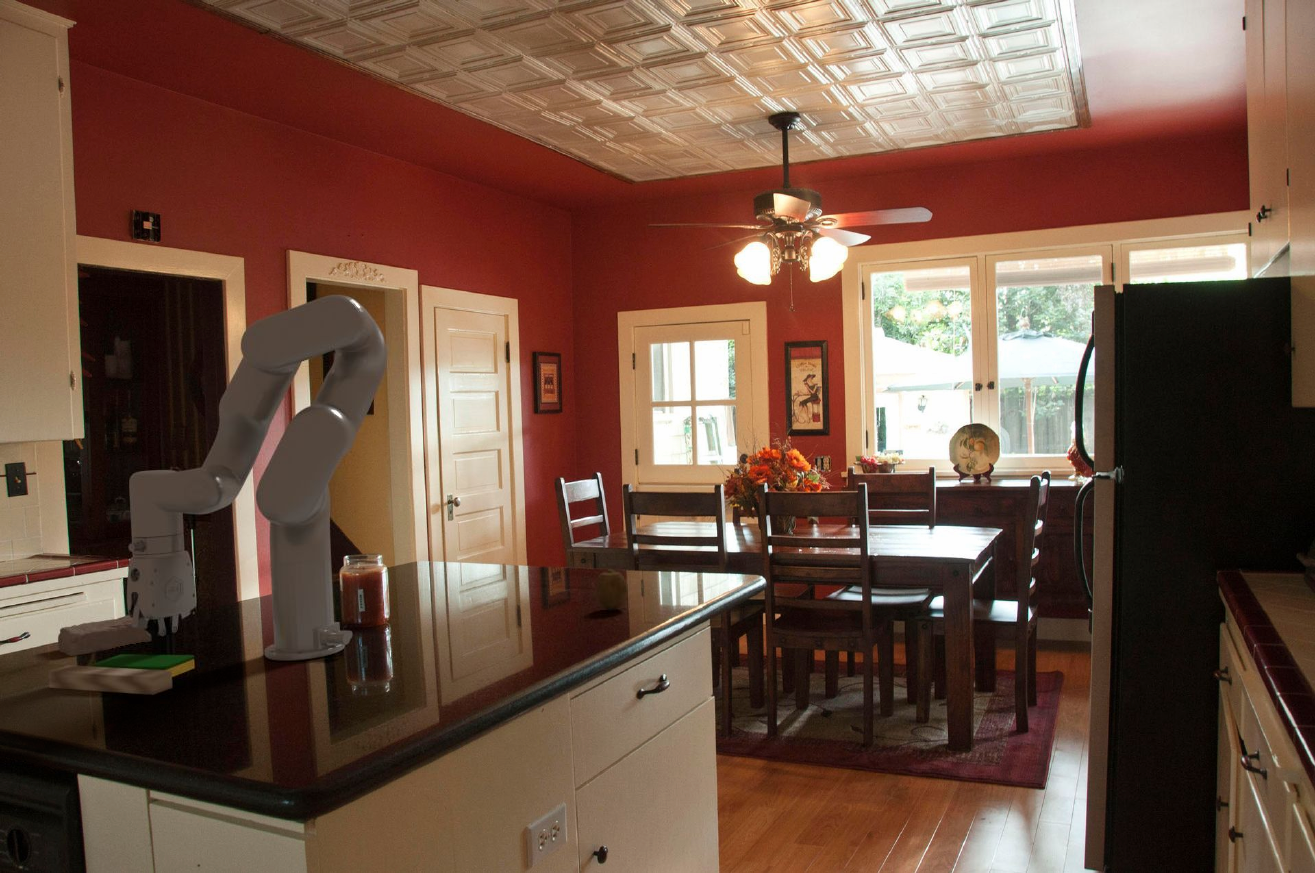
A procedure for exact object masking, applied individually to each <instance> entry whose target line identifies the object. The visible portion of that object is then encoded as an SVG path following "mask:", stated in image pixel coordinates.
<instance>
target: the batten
mask: <svg viewBox="0 0 1315 873" xmlns="http://www.w3.org/2000/svg"><path fill="white" fill-rule="evenodd" d="M48 687H49V688H50V689H51V688H52V689H63V690H76V691H93V692H107V693H121V694H122V693H123V694H124V693H125V694H137V695H139V694H140V695H151V696H153V695H156V694H159V693H161V692H164V691H168V690H169V689H170V690H171V689H173V677H172V671H162V670H144V669H127V668H109V667H91V666H89V665H87V666H86V665H72V664H71V665H70V664H69V665H66V666H63V667H59V668H58V667H57V668H55V669H51V670H48Z"/></svg>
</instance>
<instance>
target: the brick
mask: <svg viewBox="0 0 1315 873" xmlns="http://www.w3.org/2000/svg"><path fill="white" fill-rule="evenodd" d="M132 619H133V618H131V617H130V616H129V614H128V615H124V616H121V617H118V618H113V619H112V618H111V619H107V620H105V619H104V620H101V621H91V622H85V623H84V622H83V623H80V624H78V625H76V624H74V625H71V626H65V627H61V628H60V629H59V634H58V636H57V645H58V649H59V652H60V653H64V654H65V655H68V656H70V657H75V656H76V657H77V656H81V655H87V654H92V653H97V652H102V651H108V650H112V648H113V649H117V648H116V647H118V648H121V647H120V646H124V647H126V646H125V645H129V644H133V645H137V644H136V643H140V644H142V643H141V642H145V643H148V642H151V635H148V634H147V631H146V630H145V629H144V628H133V627H132ZM154 622H155V623H156V621H154ZM129 646H130V645H129Z"/></svg>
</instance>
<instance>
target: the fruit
mask: <svg viewBox="0 0 1315 873" xmlns="http://www.w3.org/2000/svg"><path fill="white" fill-rule="evenodd" d="M595 581H596V582H595V584H594V594H595V598H596V601H597V602H598V604H599V605H600V606H601V607H602V608H604V609H606V610H607V611H608V612H614V611H616V610H617V609H619V608H620V607H621V606H623V605H624V603H625V601H626V599H627V596H628V585H627V582H626V579H625V577H624V576H623V574H622V573H621V572H618V571H614V569H612V568H608V570H606V571H604V572H601V573H600V574H599V575H598V577H597V579H596V580H595Z"/></svg>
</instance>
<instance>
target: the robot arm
mask: <svg viewBox="0 0 1315 873" xmlns="http://www.w3.org/2000/svg"><path fill="white" fill-rule="evenodd" d="M240 339H241V340H240V350H241V354H242V358H241V360H240V362H239V363H238V366H237V368H236V370H235V372H234V374H233V376H232V377H231V380H230V382H228V385H227V387H226V389H225V391H224V393H223V395H222V397H221V398H220V401H219V405H218V415H219V416H218V417H219V426H218V429H217V430H218V431H217V434H216V436H215V440H214V441H213V445H212V446H211V449H210V450H209V452H208V454H207V456H206V458H205V460H204V462H203V464H202V466H200V467H196V468H191V469H186V470H180V471H175V470H171V469H156V470H153V469H152V470H143V471H142V470H141V471H137V472H134V473H133V474H132V475H131V476H130V477H129V484H128V485H129V488H128V489H129V503H130V506H129V507H130V508H129V510H130V522H131V523H130V524H131V526H130V527H131V543H129V544H128V551H129V552H131V553H132V557H130V559H129V565H128V571H127V572H128V573H127V583H126V584H127V585H126V587H127V588H126V604H127V612H128V615H129V616H130V617H131V618H133V619H132V627H133V628H144V629H145V630H146V631H147V634H148V635H151V641H150V642H151V655H176V645H175V643H176V642H175V633H177V631H178V628H179V627H178V626H179V624H180V622H181V620H183V619H185V618H186V617H188V616H190V614H191V611H192V610H193V609H194V608H195V607H196V606H197V591H196V582H195V575H194V569H193V568H194V567H193V564H192V561H191V556H190V553H189V551H188V550H185V538H184V537H185V536H184V515H183V514H188V515H189V514H191V515H205V514H206V515H207V514H210V513H214V512H216V511H219V510H221V509H223V508H226V507H228V506H229V505H231V504H232V503H233V502H234V501H236V499H237V497H238V495H239V494H240V492H241V491H242V489H243V487H244V485H245V482H246V481H247V479H248V477H249V475H250V474H251V472H252V470H253V468H254V465H255V464H256V461H257V459H258V457H259V454H260V452H261V450H262V446H263V444H264V442H265V440H266V437H267V435H268V432H269V430H270V426H271V423H272V421H273V419H274V418H275V416H276V413H277V411H278V409H279V408H280V406H281V404H282V402H283V399H284V398H285V395H286V394H287V392H288V390H289V388H290V386H291V385H292V383H293V381H294V378H295V377H296V375H297V372H298V371H299V369H300V366H301V365H302V362H305V361H309V360H310V359H313V358H317V357H319V356H322V355H325V354H328V353H330V352H334V351H335V352H334V354H335V357H334V361H333V363H332V365H331V367H330V369H329V371H328V372H327V374H326V375H325V377H324V380H323V382H322V385H321V387H320V389H319V391H318V392H317V394H316V396H315V398H314V400H313V402H312V403H311V405H309V406H306V407H304V408H303V409H300V411H299V412H297V413H296V414H295V415H294V416H293V418H292V419H291V420H290V421H289V423H288V424H287V427H285V428H286V429H285V430H284V432H283V435H282V436H281V438H280V440H279V442H278V444H277V446H276V447H275V450H274V452H273V453H272V456H271V458H270V459H269V462H268V463H267V465H266V468H265V469H264V471H263V473H262V475H261V478H260V479H259V482H258V484H257V487H256V491H255V501H256V502H255V503H256V505H257V507H258V508H257V509H258V510H259V513H260V514H261V515H262V516H263V517H264V519H266V520H267V521H268V522H269V560H270V581H271V582H270V584H271V585H270V586H271V600H272V602H271V604H272V619H273V624H272V625H273V639H274V640H273V641H274V643H273V644H271V645H269V646H267V647H266V648H265V649H264V656H265V658H266V659H269V660H272V661H273V660H274V661H284V662H285V661H286V662H287V661H289V662H291V661H301V660H310V659H317V658H321V657H322V658H323V657H326V656H330V655H333V654H337V653H339V652H340V651H342V650H343V649H345V647H346V645H348V644H349V643H350V641H351V639H352V637H353V631H352V630H341V629H340V627H341V626H340V623H341V622H339V621H338V622H337V621H335V614H334V597H333V577H332V576H333V575H332V572H333V571H332V554H331V550H332V549H331V529H330V528H331V523H330V522H331V494H330V487H329V484H330V481H331V479H332V477H333V475H334V473H335V471H336V469H337V467H338V466H339V463H340V462H341V460H342V458H343V457H345V456H346V455H347V454H348V452H350V451H351V449H352V447H353V445H354V442H355V441H356V438H357V435H358V433H359V431H360V428H361V427H362V424H363V422H364V420H365V419H366V418H365V417H366V416H367V415H368V412H369V410H370V407H371V405H372V403H373V401H374V399H375V396H376V394H377V392H378V390H379V387H380V386H381V383H382V381H383V378H384V376H385V373H386V371H387V370H386V368H387V364H388V349H387V344H386V340H385V337H384V335H383V332H382V330H381V329H380V327H379V326H378V324H377V323H376V321H375V319H374V318H373V316H372V315H371V314H370V313H369V311H367V310H366V309H365V307H364V306H363V305H361V303H359V302H358V301H357V300H356V299H354V298H352V297H350V296H347V295H344V294H331V295H326V296H324V297H323V296H322V297H319V298H316V299H314V300H311V301H308V302H306V303H303V304H300V305H297V306H295V307H292V308H289V309H286V310H284V311H281V312H277V313H275V314H272V315H269V316H266V317H264V318H261V319H259V320H257V321H254V322H253V323H252V324H250V325H249V326H247V328H246V330H245V331H244V332H243V334H242V336H241V338H240ZM154 621H156V623H155V622H154Z"/></svg>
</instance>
